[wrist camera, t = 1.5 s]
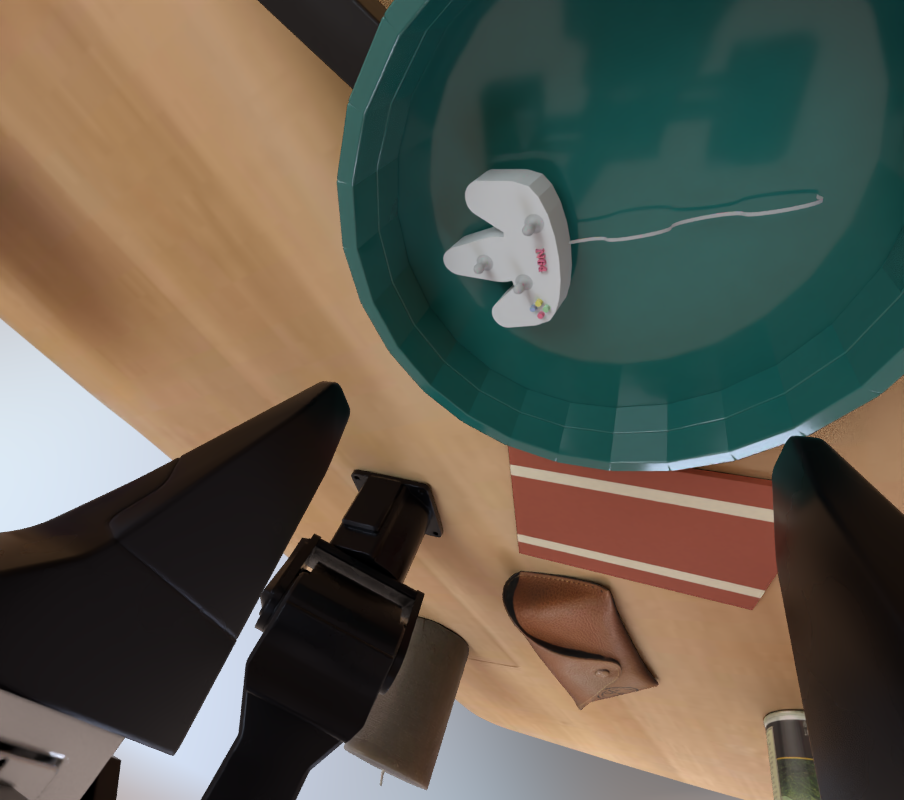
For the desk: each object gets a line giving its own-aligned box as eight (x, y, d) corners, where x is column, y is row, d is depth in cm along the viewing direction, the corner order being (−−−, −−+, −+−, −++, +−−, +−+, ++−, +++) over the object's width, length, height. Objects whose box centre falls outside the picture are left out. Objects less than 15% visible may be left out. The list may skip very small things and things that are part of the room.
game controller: (427, 206, 17) (399, 231, 15) (782, -23, 10) (806, -24, 9) (496, 321, 20) (479, 355, 18) (821, 197, 13) (846, 231, 11)
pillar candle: (444, 619, 49) (385, 785, 39) (483, 658, 54) (440, 816, 44) (383, 610, 55) (317, 753, 45) (423, 646, 59) (372, 784, 49)
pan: (809, 434, 18) (831, 508, 16) (431, 390, 25) (404, 437, 22) (1214, -314, 7) (1522, -479, 5) (326, -47, 13) (244, -53, 11)
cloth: (751, 604, 28) (752, 610, 27) (520, 548, 33) (519, 553, 33) (827, 488, 20) (830, 495, 20) (509, 440, 25) (507, 445, 25)
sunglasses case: (666, 690, 40) (623, 754, 38) (603, 639, 46) (563, 693, 44) (608, 584, 31) (548, 660, 29) (540, 538, 37) (486, 599, 35)
